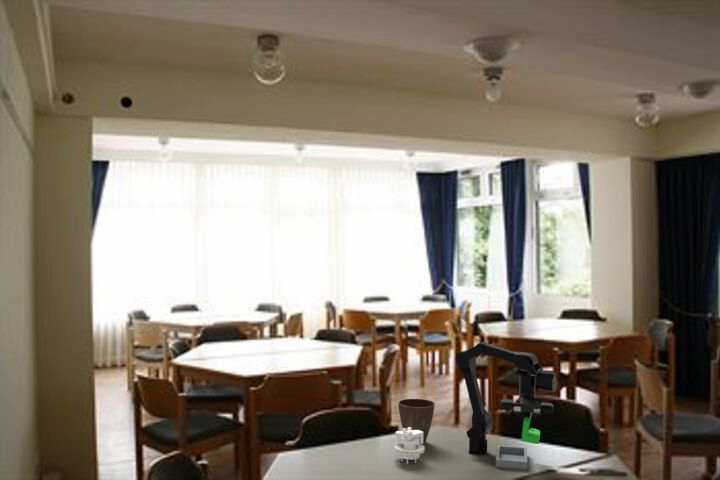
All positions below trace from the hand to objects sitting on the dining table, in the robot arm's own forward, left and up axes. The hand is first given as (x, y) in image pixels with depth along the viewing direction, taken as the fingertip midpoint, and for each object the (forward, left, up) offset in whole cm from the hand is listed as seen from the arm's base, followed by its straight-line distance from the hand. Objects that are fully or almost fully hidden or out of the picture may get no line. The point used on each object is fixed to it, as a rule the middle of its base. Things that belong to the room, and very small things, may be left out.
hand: (526, 429), depth 237 cm
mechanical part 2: (+2, 0, -3) cm, 4 cm away
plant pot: (-43, +13, -12) cm, 47 cm away
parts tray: (-5, -1, -12) cm, 13 cm away
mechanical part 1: (-42, -10, -12) cm, 45 cm away
